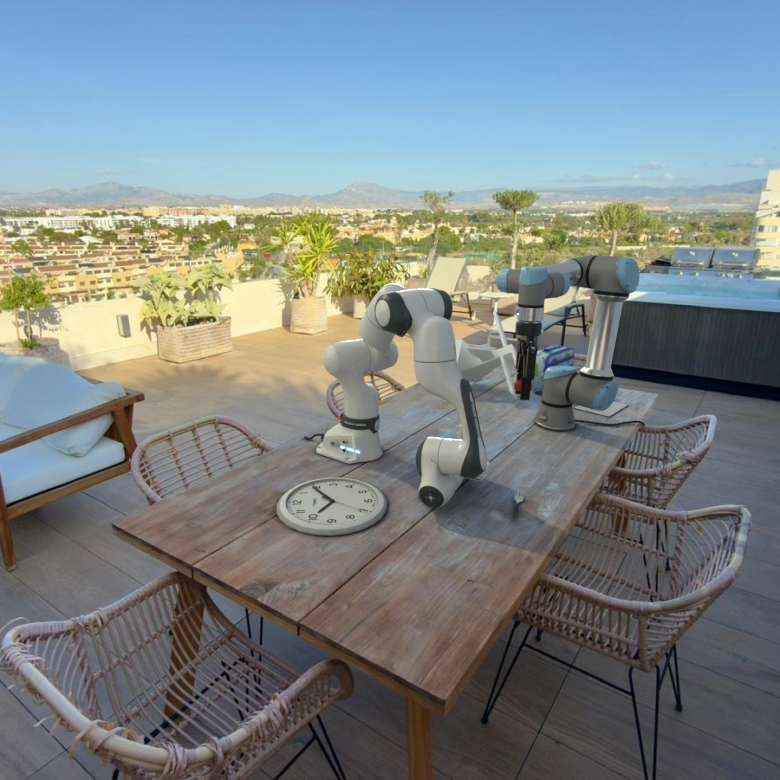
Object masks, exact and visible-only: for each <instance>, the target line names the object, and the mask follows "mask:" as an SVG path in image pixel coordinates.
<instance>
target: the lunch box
mask: <svg viewBox="0 0 780 780" xmlns="http://www.w3.org/2000/svg"><path fill="white" fill-rule="evenodd" d="M574 363H575V348H573V347H571V346H570V347H568V346H563V345H551V346H548V347H544V348H543V349H538V350H537V355H536V365H535V376H534V379H532V380H531V382H532V390H531V391H530V392H536V393H540V394H542V391H543V381H544V380H543V378H544V374H545V371H546V369H547V368H550V367H554V366H572V367H574Z"/></svg>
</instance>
